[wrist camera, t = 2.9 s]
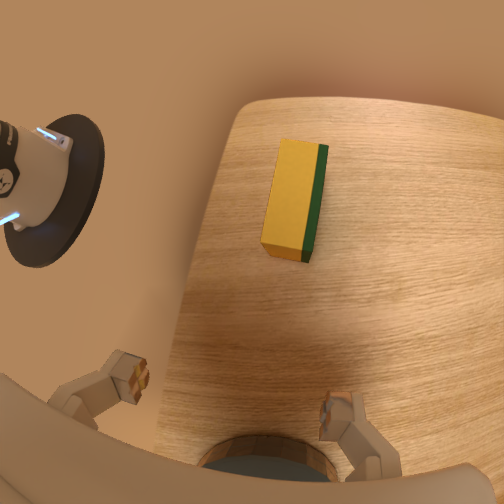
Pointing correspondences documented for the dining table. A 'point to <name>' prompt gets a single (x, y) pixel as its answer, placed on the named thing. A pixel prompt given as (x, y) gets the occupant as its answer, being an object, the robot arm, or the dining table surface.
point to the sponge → (295, 200)
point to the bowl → (270, 459)
